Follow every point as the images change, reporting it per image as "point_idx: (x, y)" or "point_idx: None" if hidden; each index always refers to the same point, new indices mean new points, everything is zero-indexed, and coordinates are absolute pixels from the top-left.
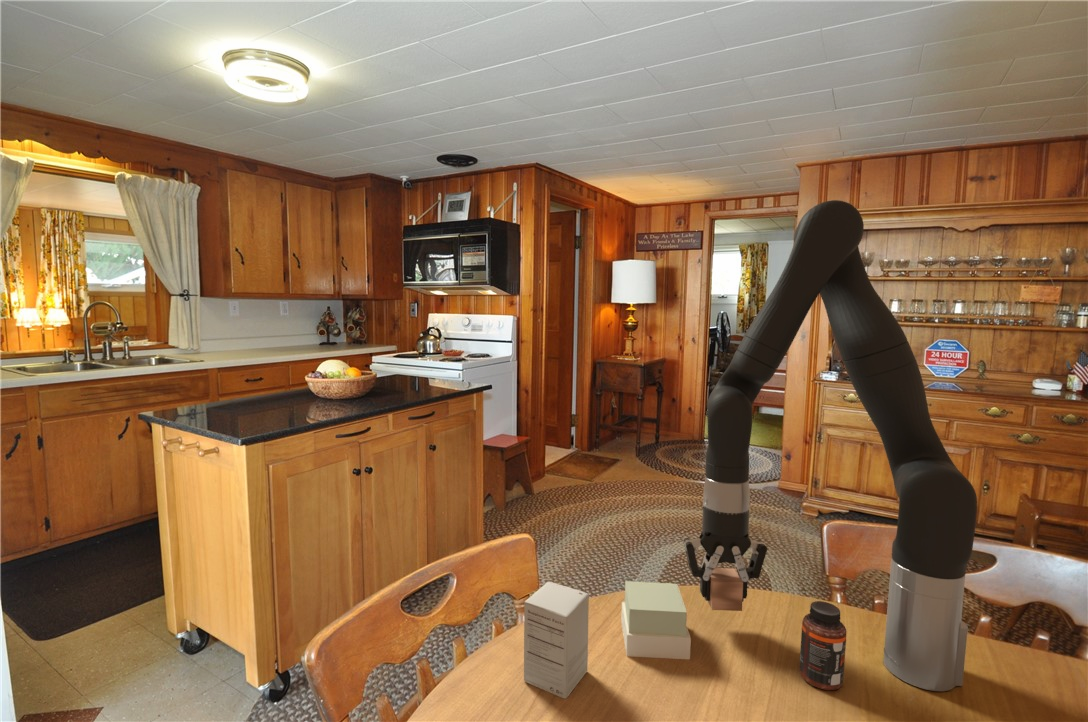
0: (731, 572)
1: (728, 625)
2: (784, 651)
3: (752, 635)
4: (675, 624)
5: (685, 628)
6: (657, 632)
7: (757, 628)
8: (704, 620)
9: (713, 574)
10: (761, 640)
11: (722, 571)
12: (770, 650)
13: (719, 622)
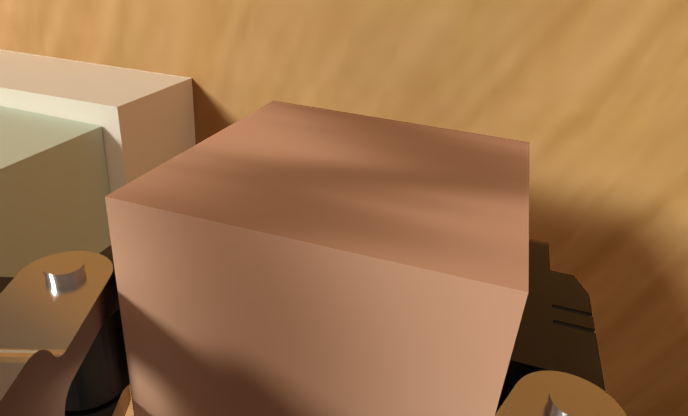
0: (415, 382)
1: (482, 117)
2: (682, 372)
3: (584, 227)
4: None
5: None
6: None
7: (671, 164)
8: (348, 53)
9: (172, 365)
10: (610, 275)
11: (300, 329)
12: (604, 352)
13: (437, 80)
